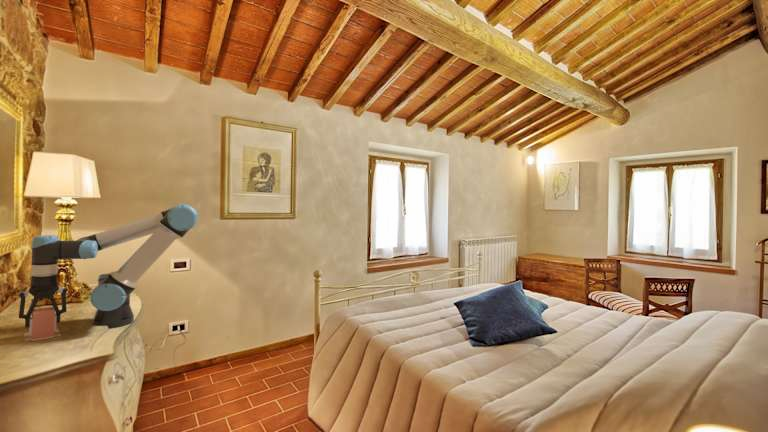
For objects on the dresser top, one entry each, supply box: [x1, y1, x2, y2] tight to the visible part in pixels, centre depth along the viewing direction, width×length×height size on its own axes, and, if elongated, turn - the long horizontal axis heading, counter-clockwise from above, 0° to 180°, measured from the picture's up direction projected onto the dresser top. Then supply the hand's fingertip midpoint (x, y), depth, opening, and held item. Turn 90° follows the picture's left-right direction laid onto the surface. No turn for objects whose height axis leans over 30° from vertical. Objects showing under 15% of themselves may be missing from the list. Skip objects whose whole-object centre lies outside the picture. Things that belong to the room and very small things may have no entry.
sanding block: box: [31, 306, 56, 341], centre depth 136 cm, size 8×6×10 cm
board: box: [23, 326, 63, 345], centre depth 138 cm, size 16×10×1 cm, turn 48°
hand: (42, 332), depth 136 cm, fingers closed on sanding block, 6 cm apart
